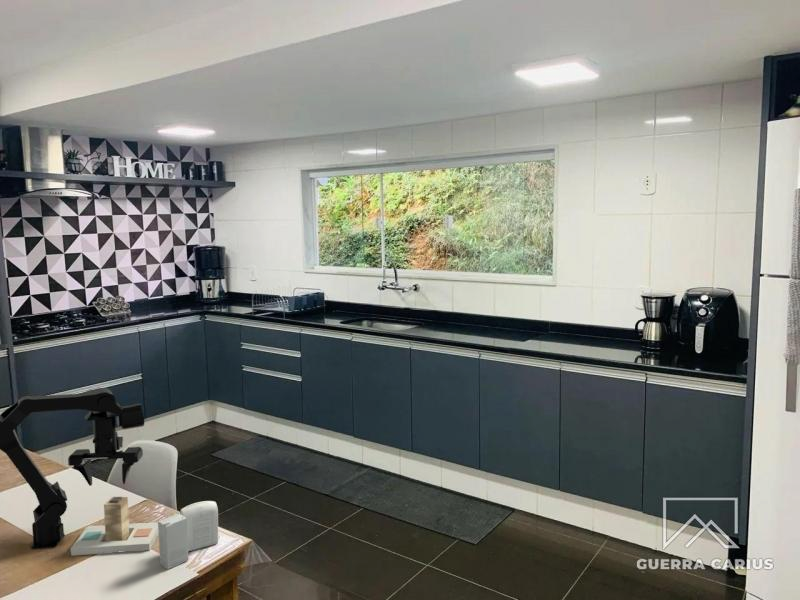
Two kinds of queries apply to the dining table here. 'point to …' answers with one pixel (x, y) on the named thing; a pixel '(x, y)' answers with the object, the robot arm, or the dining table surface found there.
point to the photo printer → (201, 524)
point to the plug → (116, 519)
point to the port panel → (95, 541)
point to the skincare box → (173, 541)
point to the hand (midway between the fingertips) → (107, 484)
